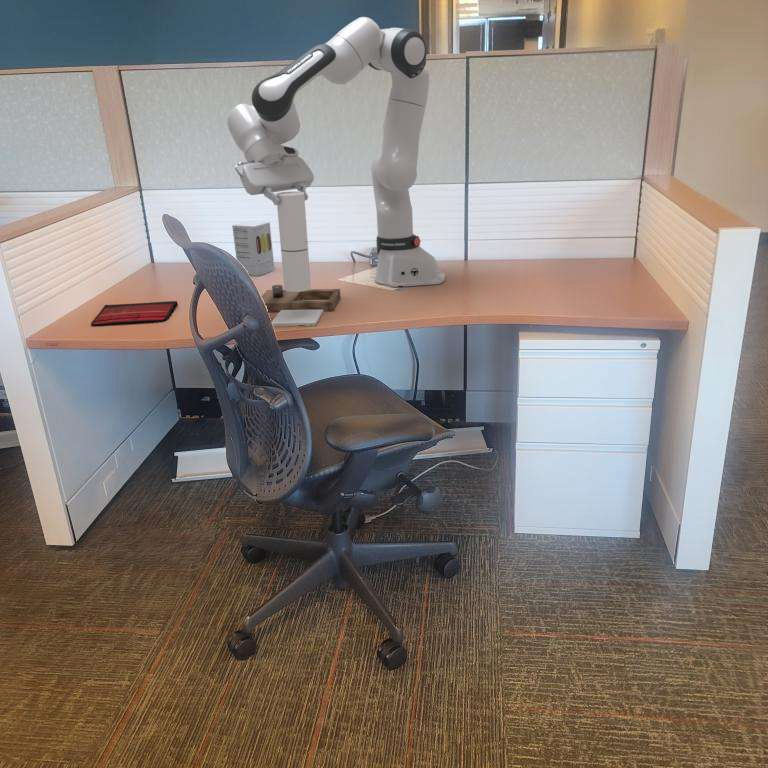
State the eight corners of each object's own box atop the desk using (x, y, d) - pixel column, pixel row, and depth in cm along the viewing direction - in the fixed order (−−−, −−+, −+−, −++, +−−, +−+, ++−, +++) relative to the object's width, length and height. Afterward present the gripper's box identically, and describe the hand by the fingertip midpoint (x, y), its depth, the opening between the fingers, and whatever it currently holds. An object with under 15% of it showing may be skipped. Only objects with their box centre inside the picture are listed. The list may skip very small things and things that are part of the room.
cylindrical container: (313, 284, 186) (306, 191, 176) (307, 292, 179) (300, 195, 169) (287, 284, 186) (280, 191, 176) (281, 291, 180) (273, 195, 170)
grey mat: (323, 312, 187) (323, 309, 187) (315, 325, 176) (315, 322, 176) (281, 312, 189) (280, 310, 188) (270, 326, 178) (270, 323, 177)
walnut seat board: (340, 297, 201) (339, 278, 199) (333, 311, 188) (331, 291, 186) (268, 298, 203) (266, 280, 201) (256, 312, 190) (253, 293, 188)
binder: (104, 304, 198) (177, 299, 199) (106, 311, 199) (178, 307, 200) (87, 323, 183) (166, 318, 185) (89, 331, 184) (167, 326, 186)
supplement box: (258, 276, 229) (252, 226, 222) (237, 274, 233) (230, 225, 226) (275, 270, 236) (270, 221, 230) (254, 268, 240) (248, 220, 234)
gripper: (236, 154, 167) (263, 198, 164) (301, 148, 180) (327, 188, 177) (228, 172, 172) (254, 214, 169) (292, 164, 185) (317, 204, 182)
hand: (292, 201), depth 173 cm, fingers closed on cylindrical container, 7 cm apart
